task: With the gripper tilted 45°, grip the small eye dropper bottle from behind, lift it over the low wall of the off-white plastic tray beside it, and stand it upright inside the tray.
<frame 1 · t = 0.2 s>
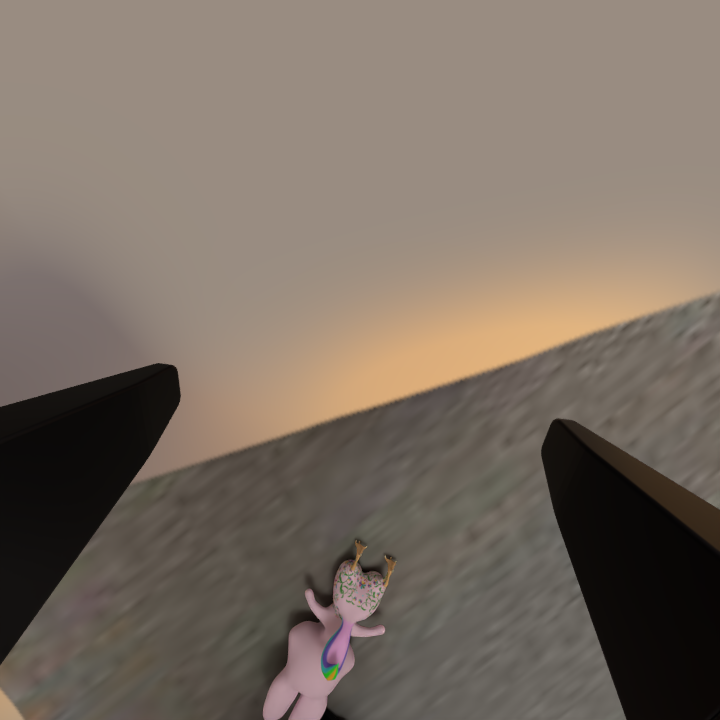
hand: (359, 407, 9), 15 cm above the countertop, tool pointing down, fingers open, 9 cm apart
pink creature figurine: (330, 617, 29), on the countertop
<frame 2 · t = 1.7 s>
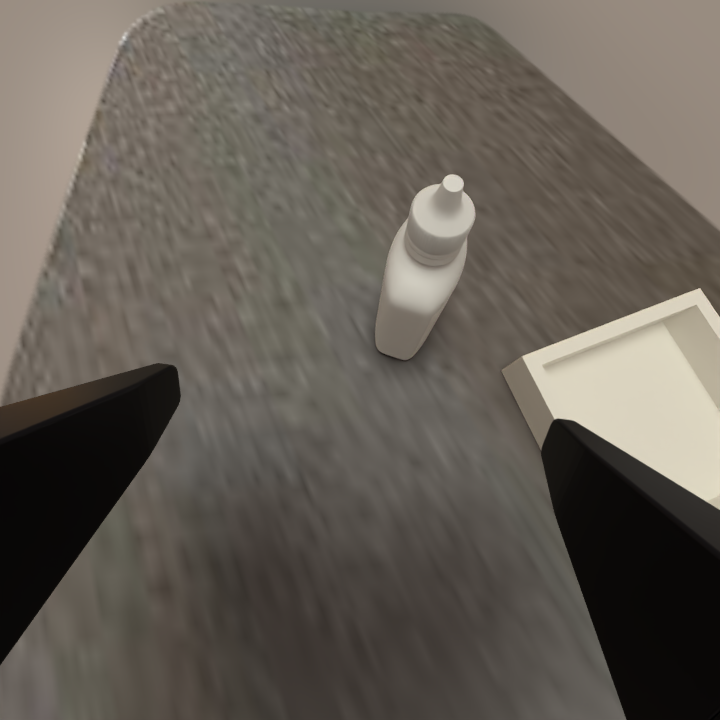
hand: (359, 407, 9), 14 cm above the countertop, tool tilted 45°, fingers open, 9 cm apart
eye dropper bottle: (404, 320, 25), on the countertop
tray: (631, 425, 23), on the countertop
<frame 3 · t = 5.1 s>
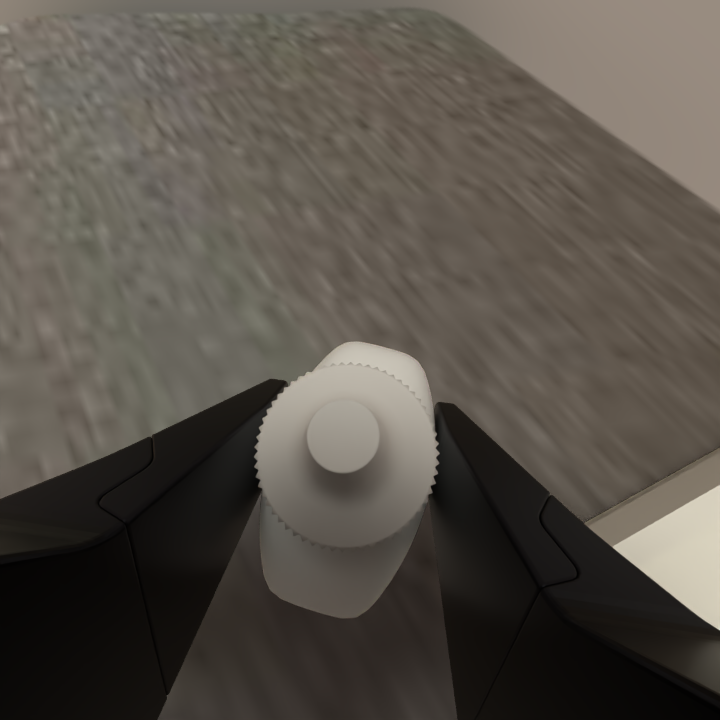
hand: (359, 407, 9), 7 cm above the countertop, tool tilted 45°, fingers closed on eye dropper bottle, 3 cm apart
eye dropper bottle: (353, 476, 15), on the countertop, touching gripper
when the fingers open (8 cm above the countertop, at t = 8.6 s): eye dropper bottle drops 1 cm, resting on tray.
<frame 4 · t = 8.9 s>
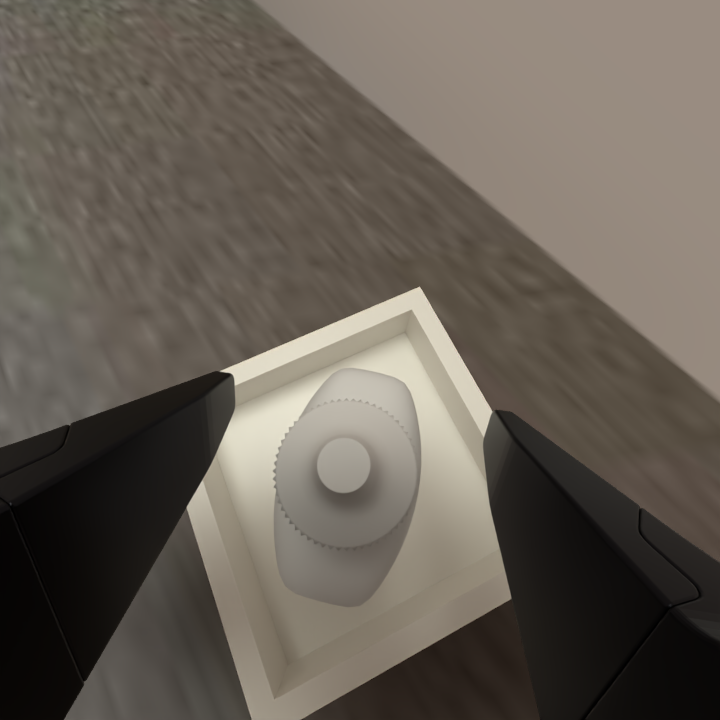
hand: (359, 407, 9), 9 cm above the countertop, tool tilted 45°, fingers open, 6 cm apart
eye dropper bottle: (352, 481, 17), resting on tray
tray: (354, 477, 17), on the countertop
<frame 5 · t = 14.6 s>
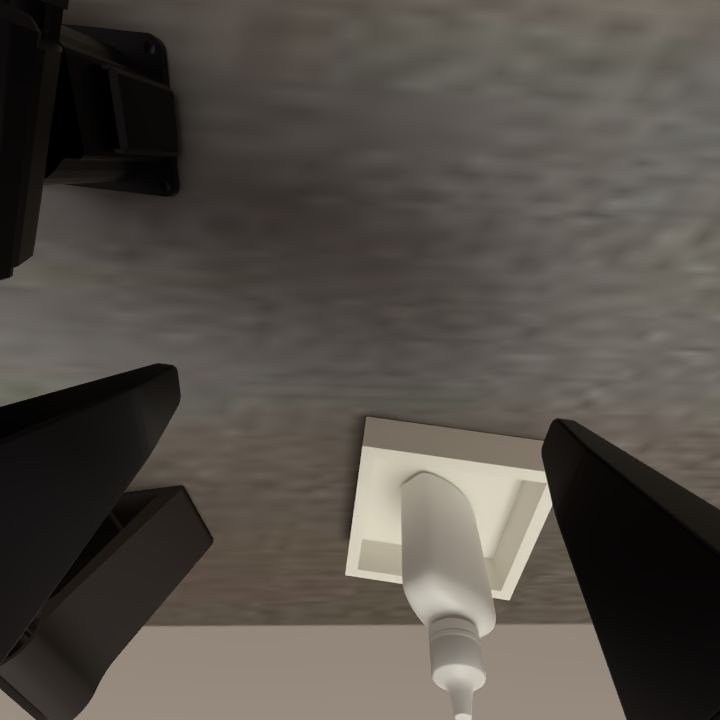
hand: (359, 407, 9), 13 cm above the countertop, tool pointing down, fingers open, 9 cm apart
eye dropper bottle: (437, 496, 27), resting on tray
phone stand: (152, 516, 31), on the countertop
tray: (438, 495, 27), on the countertop
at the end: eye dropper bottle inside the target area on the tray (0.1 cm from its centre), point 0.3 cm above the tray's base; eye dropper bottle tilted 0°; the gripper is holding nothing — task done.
